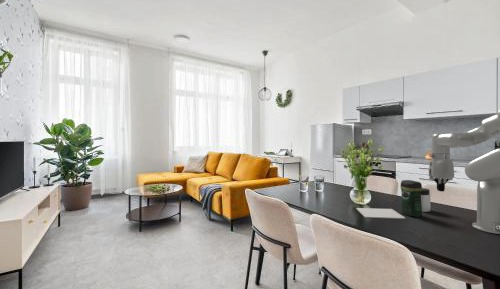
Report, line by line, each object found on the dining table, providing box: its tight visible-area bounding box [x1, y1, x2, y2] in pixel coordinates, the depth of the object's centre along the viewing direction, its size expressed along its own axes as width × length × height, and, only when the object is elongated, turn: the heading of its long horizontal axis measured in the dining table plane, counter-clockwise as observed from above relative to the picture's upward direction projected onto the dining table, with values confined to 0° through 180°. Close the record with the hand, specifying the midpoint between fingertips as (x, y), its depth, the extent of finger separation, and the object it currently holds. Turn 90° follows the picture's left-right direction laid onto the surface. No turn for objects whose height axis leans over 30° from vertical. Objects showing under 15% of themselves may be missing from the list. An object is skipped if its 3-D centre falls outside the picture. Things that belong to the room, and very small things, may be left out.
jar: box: [421, 187, 431, 213], centre depth 137 cm, size 9×8×12 cm
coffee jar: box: [400, 179, 423, 218], centre depth 129 cm, size 10×8×19 cm
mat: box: [355, 207, 407, 220], centre depth 131 cm, size 16×20×1 cm
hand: (440, 190), depth 126 cm, fingers closed
